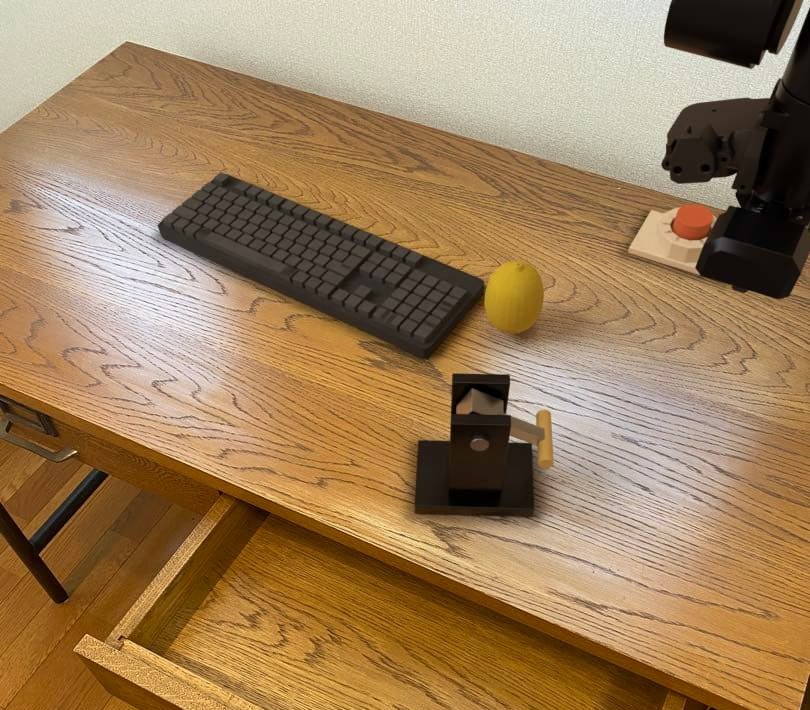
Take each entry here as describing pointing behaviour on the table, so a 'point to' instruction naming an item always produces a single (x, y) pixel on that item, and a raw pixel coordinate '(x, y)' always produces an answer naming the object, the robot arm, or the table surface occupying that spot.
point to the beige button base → (667, 242)
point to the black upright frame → (476, 460)
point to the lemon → (514, 297)
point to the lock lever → (514, 423)
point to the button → (692, 222)
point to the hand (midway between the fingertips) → (739, 288)
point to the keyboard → (325, 263)
